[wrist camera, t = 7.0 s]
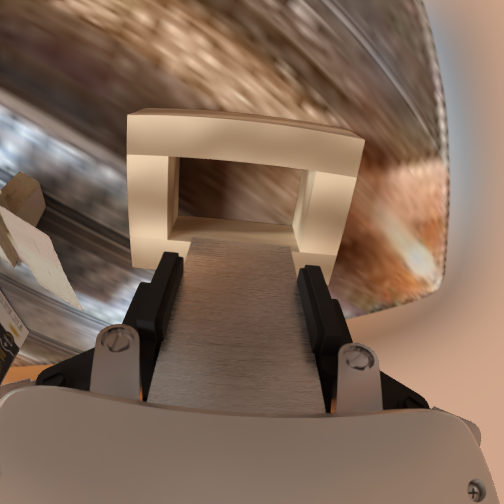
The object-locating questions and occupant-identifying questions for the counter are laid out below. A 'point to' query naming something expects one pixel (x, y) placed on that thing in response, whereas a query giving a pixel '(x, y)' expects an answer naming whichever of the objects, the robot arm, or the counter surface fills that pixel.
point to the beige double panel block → (30, 236)
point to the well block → (241, 150)
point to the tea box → (9, 336)
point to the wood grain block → (238, 334)
